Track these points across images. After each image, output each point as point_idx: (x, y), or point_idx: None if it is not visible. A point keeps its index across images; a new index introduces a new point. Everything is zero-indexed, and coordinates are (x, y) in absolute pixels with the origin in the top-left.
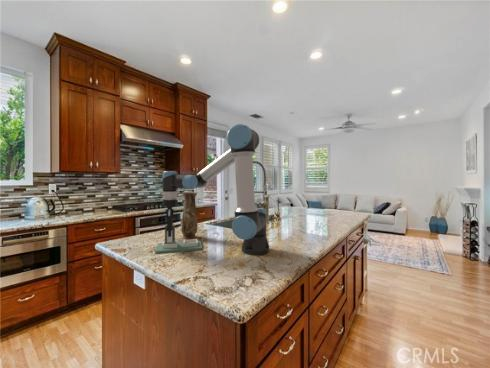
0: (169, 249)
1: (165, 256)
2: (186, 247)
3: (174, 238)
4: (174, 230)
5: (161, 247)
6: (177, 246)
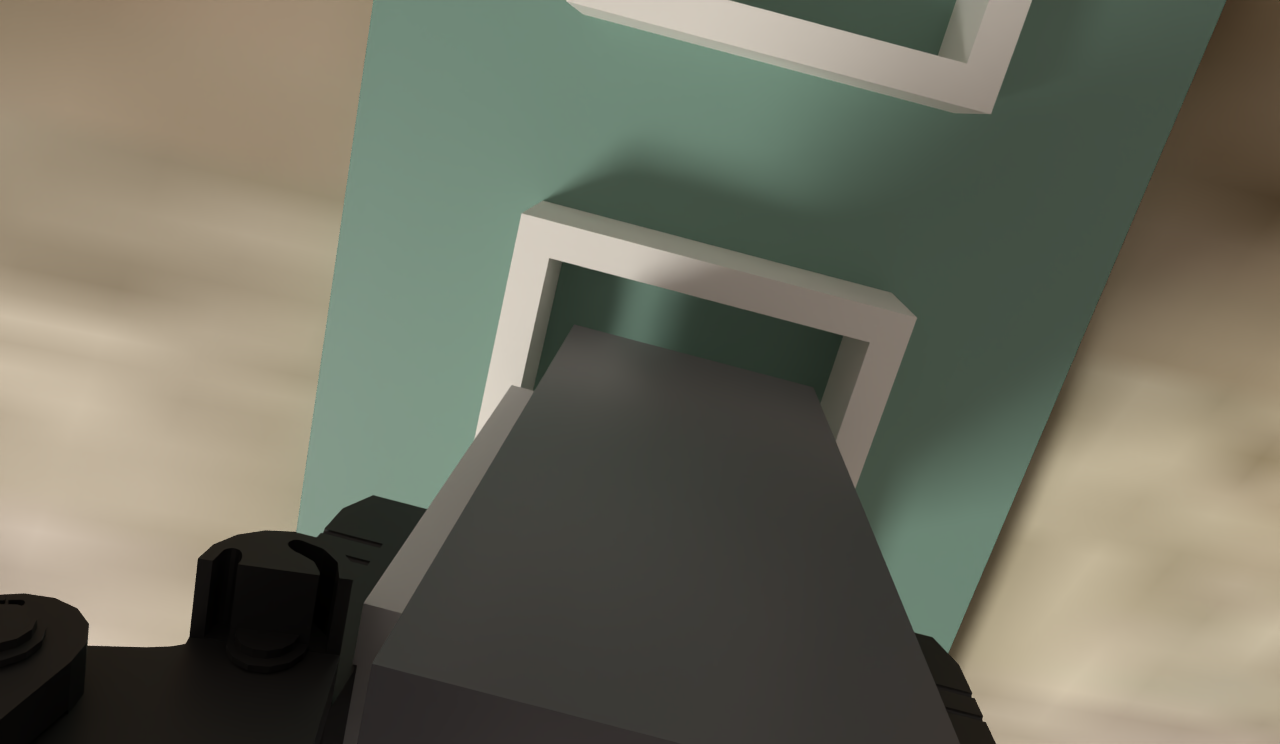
0: (955, 511)
1: (1215, 624)
2: (1058, 37)
3: (827, 434)
4: (899, 610)
5: None
6: (806, 265)
